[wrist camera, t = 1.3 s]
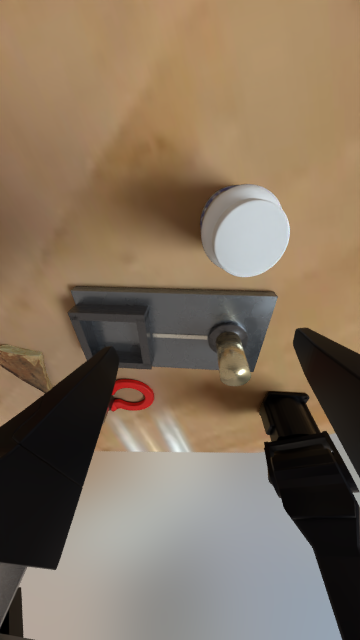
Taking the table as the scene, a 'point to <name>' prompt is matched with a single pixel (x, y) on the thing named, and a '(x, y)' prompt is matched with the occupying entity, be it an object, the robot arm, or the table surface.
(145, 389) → the tow hook
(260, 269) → the pill bottle
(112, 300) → the metal plate with knob
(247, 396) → the table surface
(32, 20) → the table surface
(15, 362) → the shard
